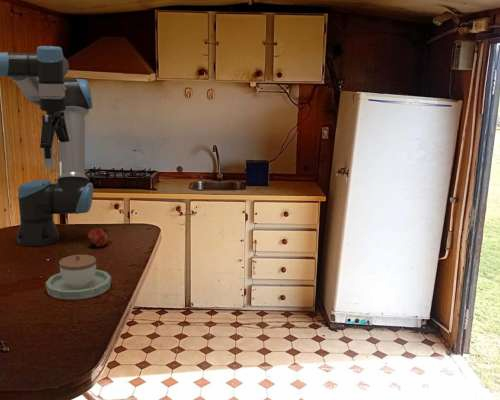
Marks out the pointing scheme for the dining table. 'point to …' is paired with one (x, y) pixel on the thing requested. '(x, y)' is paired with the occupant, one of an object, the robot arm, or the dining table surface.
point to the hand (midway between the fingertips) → (56, 165)
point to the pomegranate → (98, 237)
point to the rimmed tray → (64, 292)
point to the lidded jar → (78, 270)
